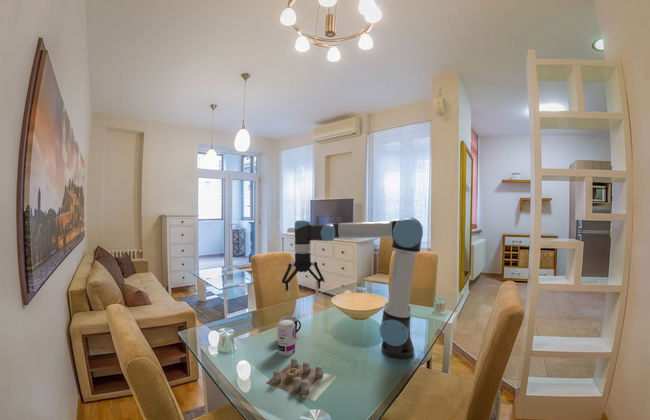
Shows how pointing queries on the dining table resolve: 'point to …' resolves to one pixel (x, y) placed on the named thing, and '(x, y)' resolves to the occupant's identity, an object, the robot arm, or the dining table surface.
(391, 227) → the robot arm
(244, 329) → the dining table surface
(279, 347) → the supplement can
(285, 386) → the board
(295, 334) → the mug
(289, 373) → the brass nut
